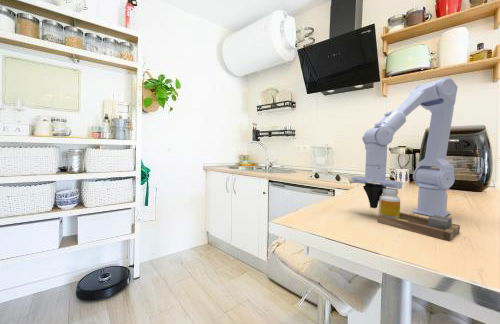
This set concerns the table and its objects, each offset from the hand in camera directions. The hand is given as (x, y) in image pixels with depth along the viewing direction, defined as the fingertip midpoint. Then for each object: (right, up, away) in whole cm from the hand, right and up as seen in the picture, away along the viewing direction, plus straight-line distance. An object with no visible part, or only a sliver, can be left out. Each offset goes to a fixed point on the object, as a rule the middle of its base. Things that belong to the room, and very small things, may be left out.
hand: (373, 207), depth 70 cm
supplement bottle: (+3, -3, -3) cm, 5 cm away
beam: (+7, -4, -9) cm, 12 cm away
